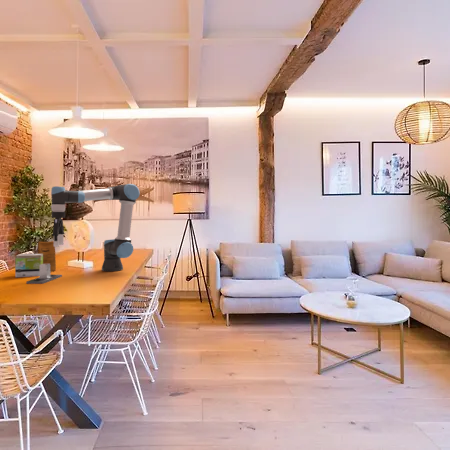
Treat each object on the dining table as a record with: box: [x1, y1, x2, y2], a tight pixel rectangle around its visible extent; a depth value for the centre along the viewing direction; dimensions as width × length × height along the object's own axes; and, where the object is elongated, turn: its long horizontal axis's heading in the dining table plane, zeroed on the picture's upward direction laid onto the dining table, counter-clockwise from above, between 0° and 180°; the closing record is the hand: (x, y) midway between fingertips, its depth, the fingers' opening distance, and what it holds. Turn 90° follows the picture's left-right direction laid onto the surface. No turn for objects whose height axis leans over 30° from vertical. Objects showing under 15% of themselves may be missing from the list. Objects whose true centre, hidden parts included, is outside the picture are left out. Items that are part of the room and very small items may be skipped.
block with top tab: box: [37, 264, 52, 279], centre depth 202 cm, size 4×7×10 cm, turn 89°
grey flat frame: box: [26, 274, 63, 285], centre depth 203 cm, size 22×10×2 cm, turn 179°
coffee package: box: [36, 240, 57, 272], centre depth 235 cm, size 10×12×22 cm
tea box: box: [14, 253, 43, 278], centre depth 217 cm, size 15×10×15 cm
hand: (58, 245), depth 199 cm, fingers open, 13 cm apart
